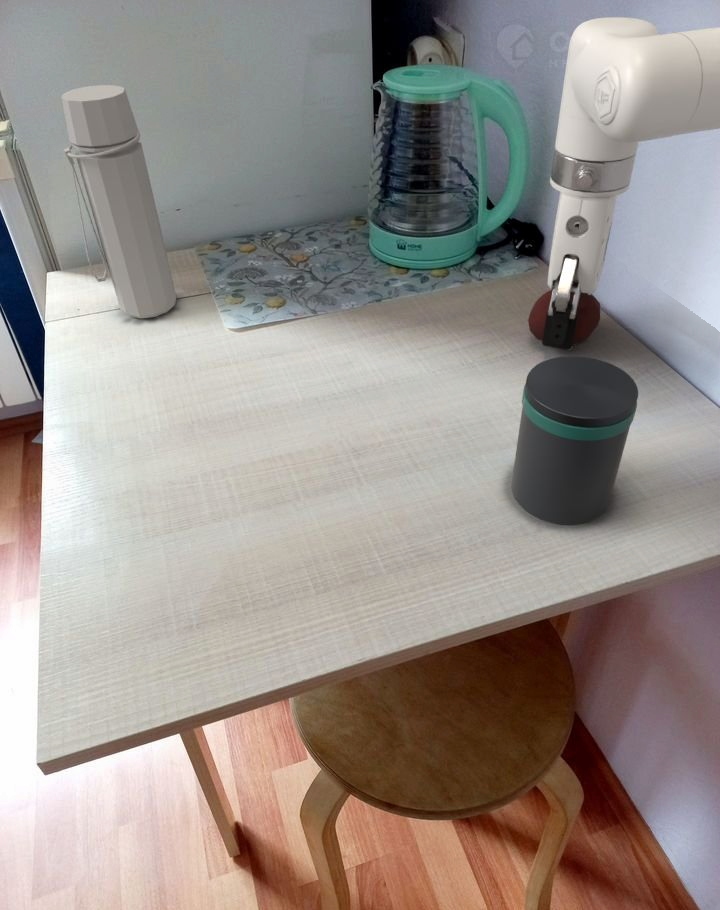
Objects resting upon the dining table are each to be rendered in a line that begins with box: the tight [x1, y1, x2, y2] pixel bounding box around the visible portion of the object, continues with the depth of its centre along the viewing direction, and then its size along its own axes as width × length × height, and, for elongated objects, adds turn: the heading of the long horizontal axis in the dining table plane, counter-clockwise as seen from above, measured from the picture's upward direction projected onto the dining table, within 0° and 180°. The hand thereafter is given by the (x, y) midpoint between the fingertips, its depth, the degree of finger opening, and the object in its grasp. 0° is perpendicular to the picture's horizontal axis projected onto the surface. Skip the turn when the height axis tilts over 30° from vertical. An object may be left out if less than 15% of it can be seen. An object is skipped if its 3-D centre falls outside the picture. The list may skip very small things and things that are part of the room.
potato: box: [527, 286, 601, 346], centre depth 79 cm, size 7×8×6 cm
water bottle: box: [61, 84, 177, 319], centre depth 82 cm, size 9×8×25 cm
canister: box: [511, 355, 639, 526], centre depth 58 cm, size 9×9×11 cm
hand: (563, 326), depth 80 cm, fingers closed on potato, 8 cm apart
